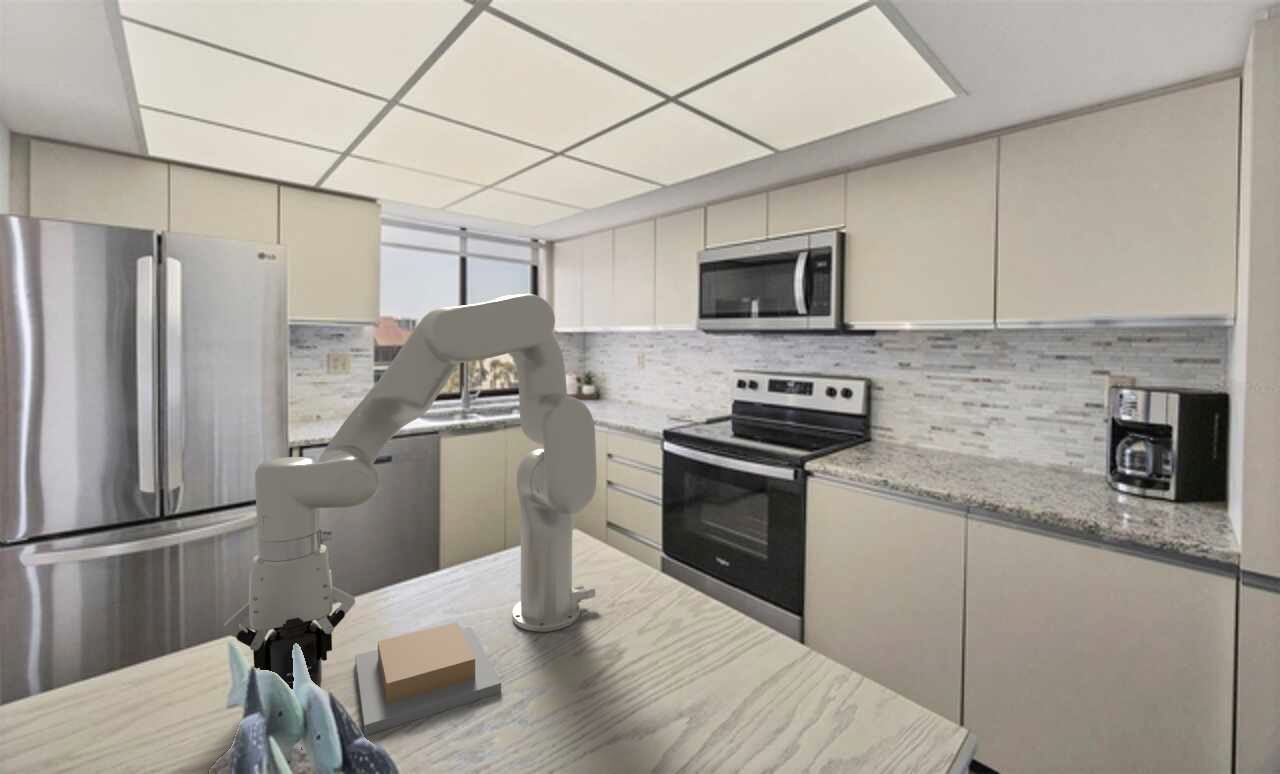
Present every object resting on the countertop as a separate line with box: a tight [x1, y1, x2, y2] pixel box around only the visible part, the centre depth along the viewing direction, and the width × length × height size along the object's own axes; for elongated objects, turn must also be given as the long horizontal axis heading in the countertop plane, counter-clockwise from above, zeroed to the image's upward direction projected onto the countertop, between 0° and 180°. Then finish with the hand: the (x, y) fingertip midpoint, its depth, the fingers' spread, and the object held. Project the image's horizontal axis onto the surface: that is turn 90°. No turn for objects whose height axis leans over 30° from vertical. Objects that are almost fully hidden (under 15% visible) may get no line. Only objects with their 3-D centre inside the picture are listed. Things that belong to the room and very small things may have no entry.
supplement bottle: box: [265, 618, 323, 689], centre depth 79 cm, size 7×7×12 cm
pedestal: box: [354, 621, 502, 737], centre depth 83 cm, size 18×18×4 cm
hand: (294, 662), depth 79 cm, fingers closed on supplement bottle, 6 cm apart
